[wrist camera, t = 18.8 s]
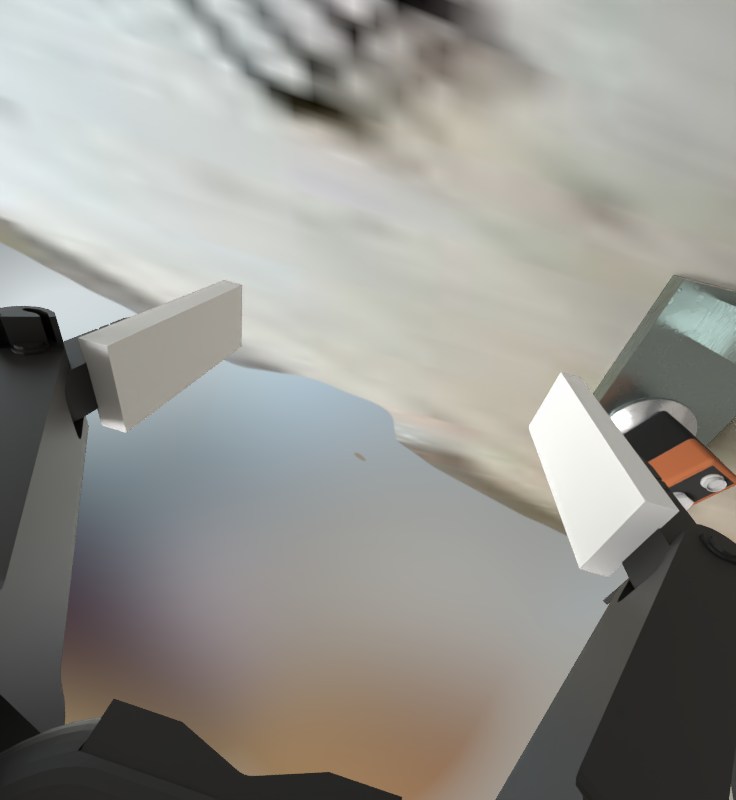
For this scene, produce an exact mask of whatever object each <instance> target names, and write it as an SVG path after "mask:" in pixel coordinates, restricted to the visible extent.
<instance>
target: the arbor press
mask: <svg viewBox="0 0 736 800" xmlns="http://www.w3.org/2000/svg"><path fill="white" fill-rule="evenodd" d="M593 395H594V396H595V398H596V399H597V400H598V402H599V403H600V404H601V406H602V407H603V408H604V410H605V411H606V413H607V414H608V415H609V417H610V418H611V419H612V421H613V422H614V423H615V425H616V426H617V427H618V429H619V430H620V431H621V433H622V434H623V435H624V434H625V433H627V432H628V431H630V430H632V429H633V428H635V427H636V426H638V425H639V424H641V423H643V422H644V421H646V420H647V419H649V418H651V417H652V416H654V415H655V414H657V413H659V412H660V411H667V412H668V413H669V414H670V415H672V416H673V417H674V418H675V419H676V420H677V421H679V422H680V423H681V424H682V425H683V426H684V427H686V428H687V429H688V430H689V431H690V432H691V433H692V434H693V435H694V436H695V437H696V438H697V439H698V440H699V441H700V442H701V443H702V444H703V445H704V446H705V447H706V446H707V445H708V444H709V443H710V442H711V441H712V440H713V439H714V438H715V437H716V436H717V434H718V433H719V432H720V431H721V430H722V429H723V428H724V427H725V426H726V425H727V424H728V423H729V422H730V421H731V420H732V419H733V418H734V417H735V416H736V291H734V290H730V289H726V288H722V287H718V286H714V285H710V284H706V283H702V282H698V281H695V280H691V279H687V278H683V277H679V276H675V275H673V276H672V278H671V279H670V281H669V282H668V284H667V285H666V287H665V288H664V290H663V291H662V293H661V294H660V296H659V297H658V299H657V300H656V302H655V303H654V305H653V306H652V308H651V309H650V311H649V312H648V313H647V315H646V316H645V318H644V319H643V321H642V322H641V324H640V325H639V327H638V328H637V330H636V331H635V333H634V334H633V336H632V337H631V339H630V340H629V342H628V343H627V345H626V346H625V348H624V349H623V350H622V352H621V353H620V355H619V356H618V358H617V359H616V361H615V362H614V364H613V365H612V367H611V368H610V370H609V371H608V373H607V374H606V376H605V377H604V379H603V380H602V382H601V383H600V385H599V386H598V388H597V389H596V390H595V392H594V393H593Z"/></svg>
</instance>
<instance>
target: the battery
mask: <svg viewBox="0 0 736 800" xmlns="http://www.w3.org/2000/svg"><path fill="white" fill-rule="evenodd" d="M624 437H625V438H626V439H627V441H628V442H629V444H630V445H631V446H632V448H633V449H634V450H635V452H636V453H638V454H639V455H640V456H641V457H642V458H643V459H645V460H646V461H647V462H648V463H649V464H650V465H652V466H653V468H654V469H655V470H656V472H657V473H658V474H659V476H660V477H661V478H662V481H664V482H665V483H666V485H667V486H668V487H669V489H670V492H672V493H673V494H674V495H675V497H676V498H677V499H678V500H679V502H680V503H681V504H682V506H683V507H684V508H685V510H688V509H689V508H690V507H691V506H692V505H694V504H696V503H698V502H700V501H702V500H704V499H707V498H709V497H711V496H713V495H715V494H717V493H719V492H722V491H724V490H726V489H728V488H730V487H732V486H734V485H736V476H735V475H734V474H733V473H732V472H731V471H730V470H729V469H728V468H727V467H726V466H725V465H724V464H723V463H722V462H721V461H720V460H719V459H718V458H717V457H716V456H715V455H714V454H713V453H712V452H711V451H710V450H709V449H708V448H706V447H705V446H704V445H703V444H702V443H701V442H700V441H699V440H698V439H697V438H696V437H695V436H694V435H693V434H692V433H691V432H690V431H689V430H688V429H687V428H686V427H684V426H683V425H682V424H681V423H680V422H679V421H677V420H676V419H675V418H674V417H673V416H672V415H670V414H669V413H668V412H667V411H660V412H659V413H657V414H655V415H654V416H652V417H651V418H649V419H647V420H646V421H644V422H643V423H641V424H639V425H638V426H636V427H635V428H633V429H632V430H630V431H628V432H627V433H625V434H624Z"/></svg>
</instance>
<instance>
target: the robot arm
mask: <svg viewBox="0 0 736 800" xmlns="http://www.w3.org/2000/svg"><path fill="white" fill-rule="evenodd" d="M241 346H242V285H240V284H237V283H233V282H229V281H226V280H223V281H221V282H218V283H216V284H213V285H211V286H208V287H206V288H203V289H201V290H198V291H195V292H193V293H190V294H188V295H185V296H183V297H180V298H178V299H175V300H173V301H170V302H168V303H165V304H162V305H160V306H157V307H155V308H152V309H150V310H147V311H145V312H142V313H140V314H137V315H135V316H132V317H128V318H123V319H121V320H118V321H116V322H113V323H111V324H110V325H105V326H103V327H100V328H99V330H98V329H95V330H92V331H90V332H87V333H85V334H82V335H79V336H77V337H74V338H72V339H69V340H67V341H64V342H63V340H62V336H61V333H60V329H59V326H58V323H57V319H56V316H55V313H54V312H52V311H50V310H49V309H45V308H40V307H30V306H12V307H4V308H0V800H402V797H400V796H397V795H394V794H391V793H388V792H385V791H382V790H380V789H377V788H374V787H370V786H368V785H365V784H362V783H359V782H356V781H353V780H350V779H347V778H344V777H342V776H339V775H336V774H333V773H330V772H323V773H305V774H285V775H266V776H247V775H244V774H242V773H240V772H239V771H237V770H236V769H235V768H234V767H233V766H232V765H231V764H229V763H228V762H227V761H226V760H225V759H224V758H223V757H221V756H220V755H219V754H218V753H217V752H216V751H215V750H213V749H212V748H211V747H210V746H209V745H208V744H207V743H205V742H204V741H203V740H202V739H201V738H200V737H198V735H196V734H195V733H194V732H193V731H192V730H190V729H189V728H188V727H187V726H186V725H185V724H184V723H183V722H181V721H177V720H174V719H171V718H169V717H166V716H163V715H160V714H157V713H154V712H151V711H148V710H145V709H143V708H140V707H137V706H134V705H131V704H128V703H125V702H122V701H119V700H116V699H113V701H112V702H111V704H110V705H109V707H108V709H107V710H106V712H105V713H104V715H103V716H102V717H101V718H92V719H87V720H81V721H76V722H72V723H69V724H66V725H65V703H64V702H65V701H64V695H63V689H62V683H61V662H62V653H63V643H64V634H65V627H66V618H67V609H68V600H69V591H70V583H71V575H72V566H73V557H74V547H75V540H76V530H77V522H78V513H79V505H80V495H81V488H82V479H83V470H84V461H85V453H86V444H87V435H88V427H89V426H88V423H87V419H86V415H88V414H89V413H91V412H92V411H94V410H96V409H98V413H99V417H100V420H101V424H102V425H103V426H106V427H109V428H112V429H116V430H119V431H122V432H128V431H129V430H131V429H132V428H133V427H135V426H136V425H137V424H139V423H140V422H141V421H143V420H144V419H145V418H147V417H148V416H149V415H151V414H152V413H153V412H155V411H156V410H157V409H158V408H160V407H161V406H163V405H164V404H165V403H167V402H168V401H169V400H171V399H172V398H173V397H175V396H176V395H177V394H179V393H180V392H181V391H182V390H184V389H185V388H187V387H188V386H189V385H191V384H192V383H193V382H195V381H196V380H197V379H199V378H200V377H201V376H202V375H204V374H205V373H206V372H208V371H209V370H210V369H212V368H213V367H214V366H216V365H217V364H218V363H220V362H221V361H222V360H224V359H225V358H226V357H228V356H229V355H230V354H232V353H233V352H234V351H236V350H237V349H238V348H240V347H241ZM529 430H530V433H531V436H532V439H533V441H534V444H535V447H536V450H537V452H538V455H539V458H540V461H541V463H542V466H543V469H544V472H545V475H546V477H547V480H548V483H549V486H550V488H551V491H552V494H553V497H554V499H555V502H556V505H557V508H558V511H559V513H560V516H561V519H562V522H563V524H564V527H565V530H566V533H567V535H568V538H569V541H570V544H571V547H572V549H573V552H574V555H575V557H576V560H577V563H578V566H579V569H582V570H585V571H589V572H592V573H595V574H599V575H602V576H605V577H609V576H610V575H611V574H612V573H613V572H614V571H615V570H616V569H617V568H618V567H620V566H621V565H622V564H623V566H624V568H625V570H626V572H627V574H628V577H629V578H628V579H627V580H626V581H625V582H624V583H623V584H622V585H620V586H619V587H618V588H617V589H616V590H615V591H614V592H612V593H611V594H610V595H609V596H608V597H607V598H606V599H605V600H603V601H604V602H605V603H606V604H609V603H610V604H609V606H608V608H607V609H606V611H605V613H604V614H603V616H602V618H601V619H600V621H599V623H598V625H597V626H596V628H595V630H594V631H593V633H592V635H591V637H590V638H589V640H588V642H587V644H586V645H585V647H584V649H583V650H582V652H581V654H580V655H579V657H578V659H577V661H576V662H575V664H574V666H573V667H572V669H571V671H570V673H569V674H568V676H567V678H566V680H565V681H564V683H563V685H562V686H561V688H560V690H559V692H558V693H557V695H556V697H555V698H554V700H553V702H552V704H551V705H550V707H549V709H548V711H547V712H546V714H545V716H544V717H543V719H542V721H541V722H540V724H539V726H538V728H537V729H536V731H535V733H534V735H533V736H532V738H531V740H530V741H529V743H528V745H527V747H526V748H525V750H524V752H523V754H522V755H521V757H520V759H519V760H518V762H517V764H516V766H515V767H514V769H513V771H512V772H511V774H510V776H509V777H508V779H507V781H506V783H505V784H504V786H503V788H502V790H501V791H500V793H499V795H498V796H497V798H496V800H729V794H730V787H732V793H733V799H734V800H736V544H735V543H734V542H733V541H731V540H730V539H729V538H727V537H726V536H724V535H722V534H721V533H719V532H717V531H715V530H713V529H711V528H708V527H706V526H703V525H699V524H696V523H695V521H694V520H693V519H692V517H691V516H690V515H689V514H688V512H687V511H686V510H685V508H684V507H683V506H682V504H681V503H680V502H679V500H678V499H677V498H676V497H675V495H674V494H673V493H672V492H670V489H669V487H668V486H667V485H666V483H665V482H664V481H662V478H661V477H660V476H659V474H658V473H657V472H656V470H655V469H654V468H653V466H652V465H650V464H649V463H648V462H647V461H646V460H645V459H643V458H642V457H641V456H640V455H639V454H638V453H636V452H635V450H634V449H633V448H632V446H631V445H630V444H629V442H628V441H627V439H626V438H625V437H624V435H623V434H622V433H621V431H620V430H619V429H618V427H617V426H616V425H615V423H614V422H613V421H612V419H611V418H610V417H609V415H608V414H607V413H606V411H605V410H604V408H603V407H602V406H601V404H600V403H599V402H598V400H597V399H596V398H595V396H594V395H593V394H592V392H591V391H590V390H589V388H588V387H587V386H586V384H585V383H584V382H583V380H582V379H581V377H577V376H574V375H570V374H566V373H563V372H561V373H560V374H559V376H558V378H557V379H556V381H555V383H554V384H553V386H552V388H551V390H550V391H549V393H548V395H547V396H546V398H545V400H544V401H543V403H542V405H541V407H540V408H539V410H538V412H537V413H536V415H535V417H534V418H533V420H532V422H531V423H530V425H529Z"/></svg>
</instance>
